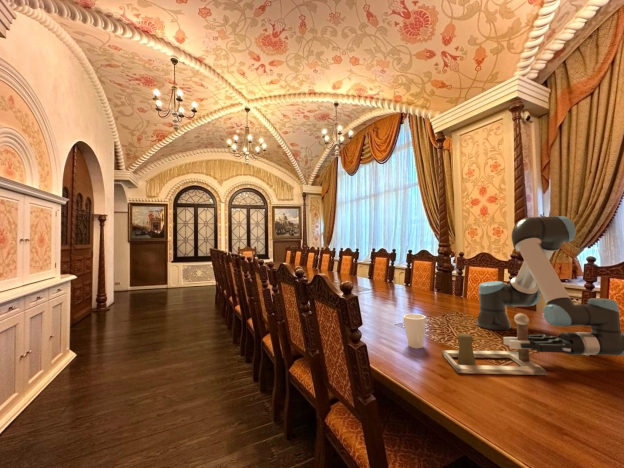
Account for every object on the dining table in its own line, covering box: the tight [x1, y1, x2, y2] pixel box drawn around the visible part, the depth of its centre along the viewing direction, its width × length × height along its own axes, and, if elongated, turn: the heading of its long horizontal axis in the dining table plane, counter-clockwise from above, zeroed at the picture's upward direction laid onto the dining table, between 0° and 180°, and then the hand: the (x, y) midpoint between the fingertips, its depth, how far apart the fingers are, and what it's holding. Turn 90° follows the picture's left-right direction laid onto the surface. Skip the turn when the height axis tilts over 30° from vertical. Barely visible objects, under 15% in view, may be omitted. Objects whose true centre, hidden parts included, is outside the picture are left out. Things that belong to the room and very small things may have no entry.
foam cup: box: [403, 313, 427, 349], centre depth 126 cm, size 10×9×13 cm
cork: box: [457, 333, 477, 365], centre depth 106 cm, size 6×6×11 cm
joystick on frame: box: [441, 313, 548, 376], centre depth 105 cm, size 28×17×18 cm, turn 83°
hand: (507, 342), depth 104 cm, fingers closed on joystick on frame, 3 cm apart
